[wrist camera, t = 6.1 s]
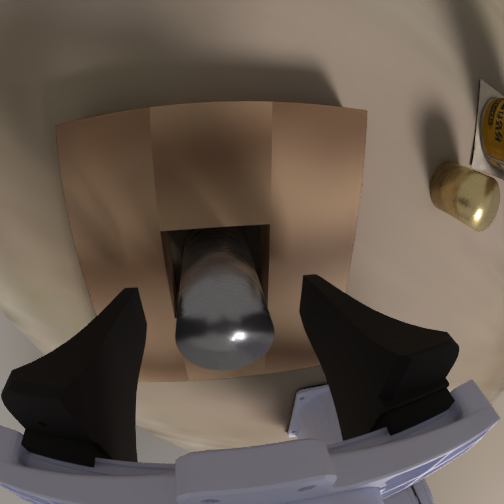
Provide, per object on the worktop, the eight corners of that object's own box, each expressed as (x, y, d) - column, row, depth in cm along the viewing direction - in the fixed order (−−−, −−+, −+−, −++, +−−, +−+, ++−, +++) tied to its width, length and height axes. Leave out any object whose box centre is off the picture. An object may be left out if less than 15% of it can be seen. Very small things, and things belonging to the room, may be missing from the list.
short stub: (456, 209, 18) (492, 231, 14) (425, 208, 17) (464, 232, 14) (464, 164, 16) (503, 180, 13) (433, 158, 16) (476, 174, 12)
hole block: (317, 340, 21) (328, 363, 19) (130, 355, 19) (125, 381, 17) (343, 109, 14) (367, 110, 11) (77, 122, 12) (55, 125, 9)
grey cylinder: (251, 272, 17) (276, 361, 11) (191, 282, 17) (189, 376, 11) (243, 216, 16) (271, 290, 9) (177, 227, 15) (162, 308, 9)
